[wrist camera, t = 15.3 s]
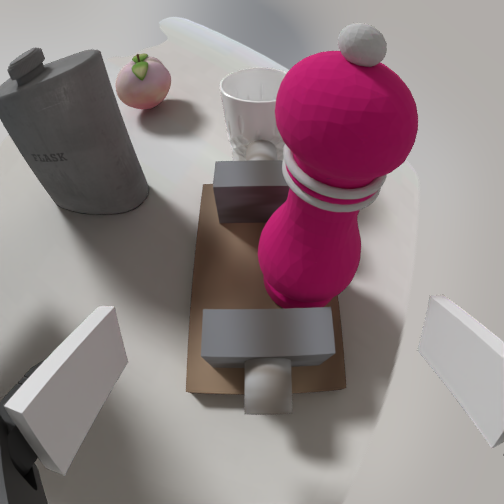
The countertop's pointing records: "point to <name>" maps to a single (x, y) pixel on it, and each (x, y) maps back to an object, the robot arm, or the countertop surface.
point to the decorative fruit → (143, 82)
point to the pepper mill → (333, 164)
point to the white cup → (251, 108)
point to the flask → (72, 132)
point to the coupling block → (253, 299)
